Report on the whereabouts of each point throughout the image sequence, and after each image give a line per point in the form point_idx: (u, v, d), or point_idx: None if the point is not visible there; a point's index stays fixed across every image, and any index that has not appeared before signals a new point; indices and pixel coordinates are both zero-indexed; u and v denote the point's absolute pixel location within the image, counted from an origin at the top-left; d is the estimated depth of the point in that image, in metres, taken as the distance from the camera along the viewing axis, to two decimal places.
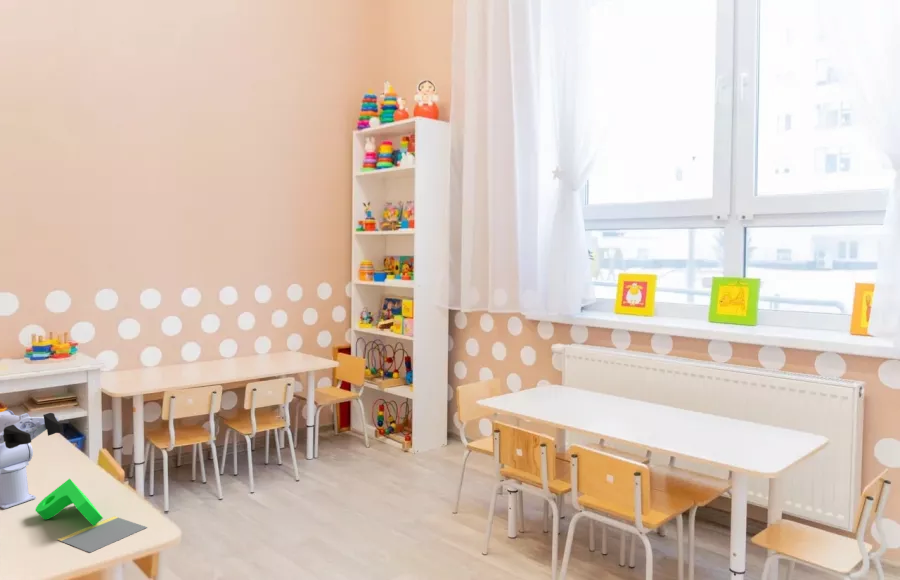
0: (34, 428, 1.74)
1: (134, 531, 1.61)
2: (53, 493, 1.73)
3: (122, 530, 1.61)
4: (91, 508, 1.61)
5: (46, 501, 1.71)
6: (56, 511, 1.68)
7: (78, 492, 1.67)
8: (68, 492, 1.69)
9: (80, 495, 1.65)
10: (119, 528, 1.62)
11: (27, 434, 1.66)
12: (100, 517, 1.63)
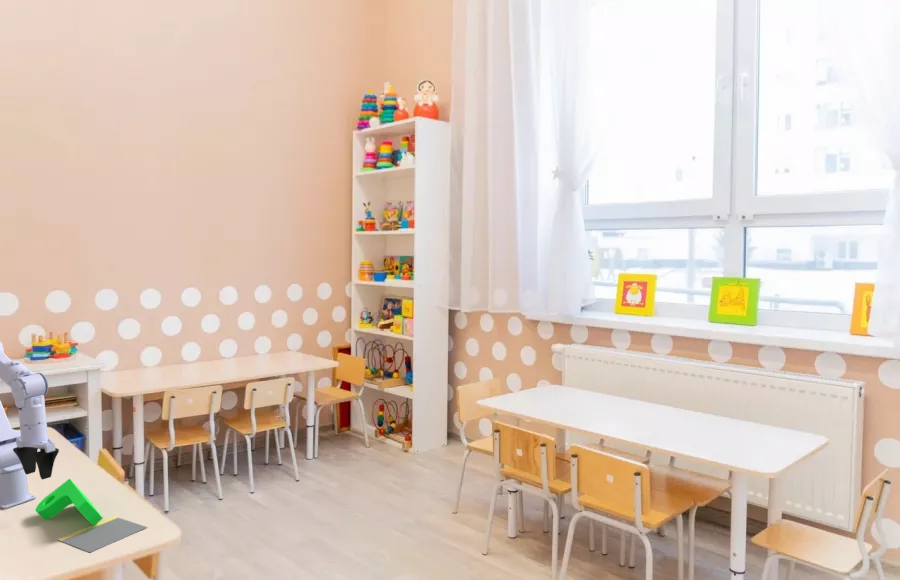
0: None
1: (134, 531, 1.61)
2: (53, 493, 1.73)
3: (122, 530, 1.61)
4: (91, 508, 1.61)
5: (46, 501, 1.71)
6: (56, 511, 1.68)
7: (78, 492, 1.66)
8: (68, 492, 1.69)
9: (80, 495, 1.65)
10: (119, 528, 1.62)
11: (25, 472, 1.74)
12: (100, 517, 1.63)
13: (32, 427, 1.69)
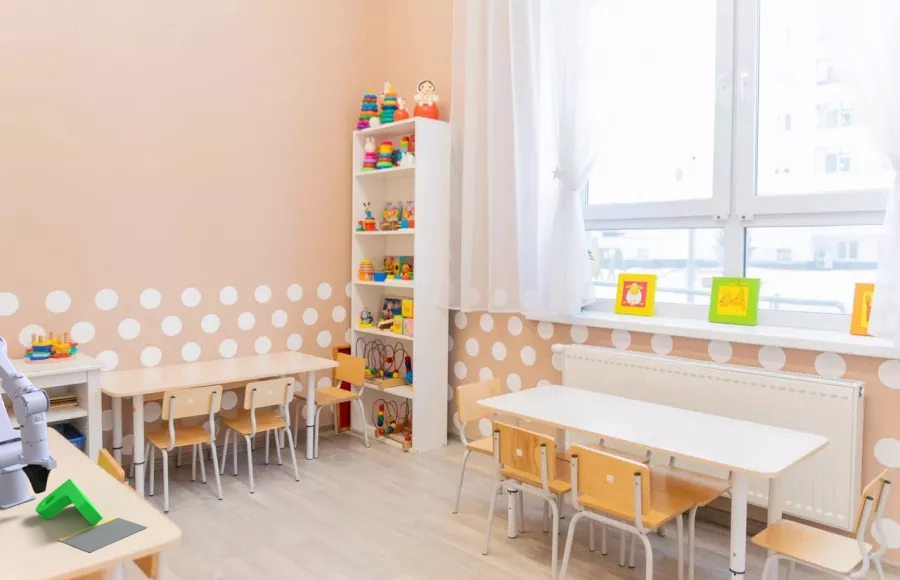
0: None
1: (134, 531, 1.61)
2: (53, 493, 1.73)
3: (122, 530, 1.61)
4: (91, 508, 1.61)
5: (46, 501, 1.71)
6: (56, 511, 1.68)
7: (78, 492, 1.66)
8: (68, 492, 1.69)
9: (80, 495, 1.65)
10: (119, 528, 1.62)
11: (34, 491, 1.73)
12: (100, 517, 1.63)
13: (34, 444, 1.70)
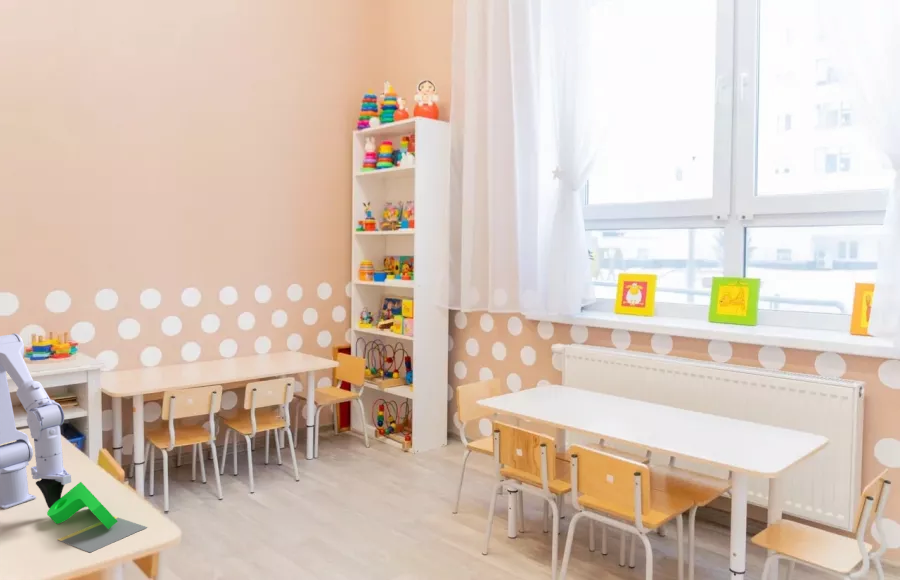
0: None
1: (134, 531, 1.61)
2: (64, 497, 1.70)
3: (122, 530, 1.61)
4: (106, 511, 1.59)
5: (58, 505, 1.69)
6: (69, 515, 1.66)
7: (91, 495, 1.64)
8: (80, 496, 1.67)
9: (94, 498, 1.62)
10: (119, 528, 1.62)
11: (48, 506, 1.70)
12: (115, 520, 1.61)
13: (48, 458, 1.67)
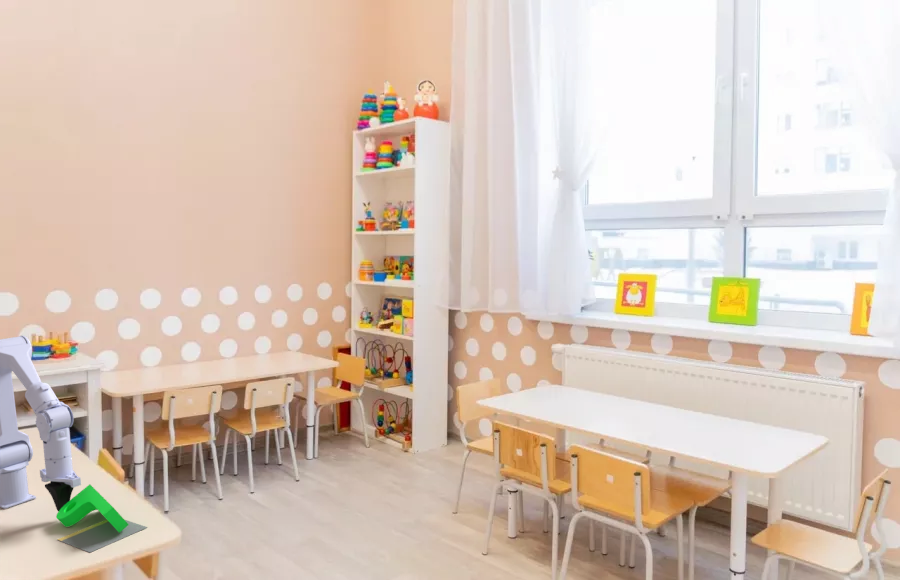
0: None
1: (134, 531, 1.61)
2: (74, 499, 1.68)
3: (122, 530, 1.61)
4: (117, 515, 1.57)
5: (67, 508, 1.66)
6: (78, 518, 1.64)
7: (102, 498, 1.62)
8: (90, 499, 1.64)
9: (105, 501, 1.60)
10: None
11: (57, 509, 1.68)
12: (126, 524, 1.59)
13: (57, 461, 1.65)
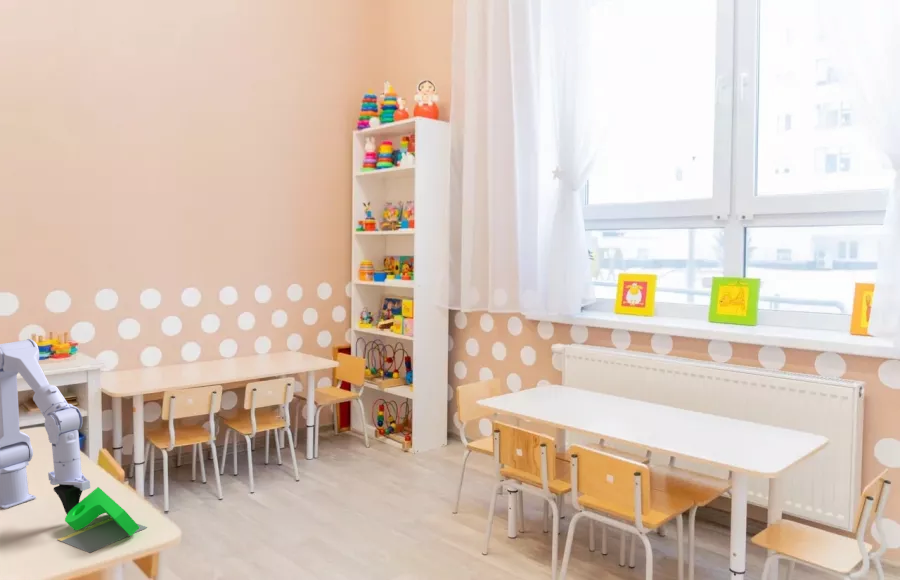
0: None
1: None
2: (82, 502, 1.66)
3: (122, 530, 1.61)
4: (129, 518, 1.55)
5: (75, 511, 1.64)
6: (88, 521, 1.62)
7: (112, 501, 1.60)
8: (100, 502, 1.62)
9: (115, 504, 1.58)
10: (119, 528, 1.62)
11: (66, 513, 1.66)
12: (137, 527, 1.57)
13: (66, 464, 1.63)
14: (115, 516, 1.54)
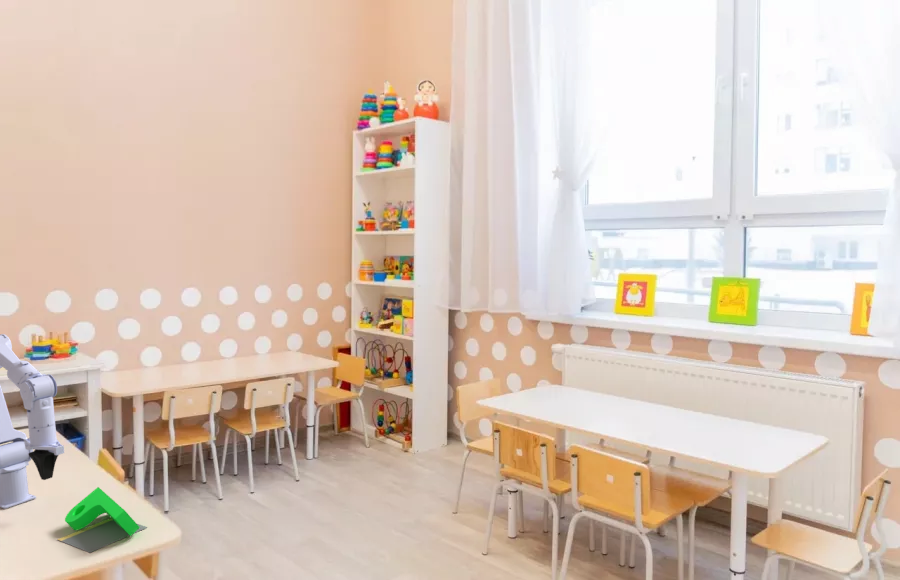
0: None
1: None
2: (82, 502, 1.66)
3: (122, 530, 1.61)
4: (129, 518, 1.55)
5: (75, 511, 1.64)
6: (88, 521, 1.62)
7: (112, 501, 1.60)
8: (100, 502, 1.62)
9: (115, 504, 1.58)
10: (119, 528, 1.62)
11: (41, 478, 1.70)
12: (137, 527, 1.57)
13: (41, 429, 1.67)
14: (115, 516, 1.54)
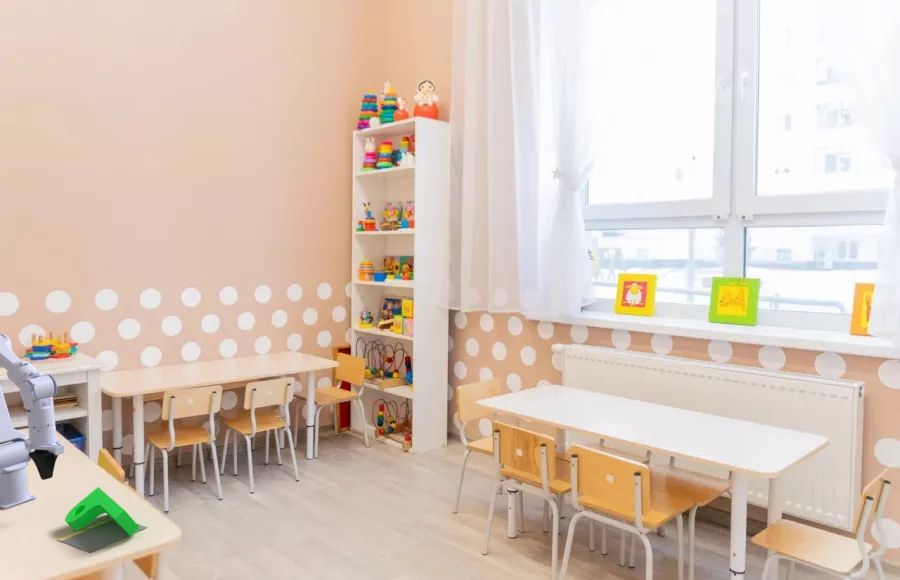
0: None
1: None
2: (82, 502, 1.66)
3: (122, 530, 1.61)
4: (129, 518, 1.55)
5: (75, 511, 1.64)
6: (88, 521, 1.62)
7: (112, 501, 1.60)
8: (100, 502, 1.62)
9: (115, 504, 1.58)
10: (119, 528, 1.62)
11: (41, 477, 1.70)
12: (137, 527, 1.57)
13: (41, 429, 1.67)
14: (115, 516, 1.54)
